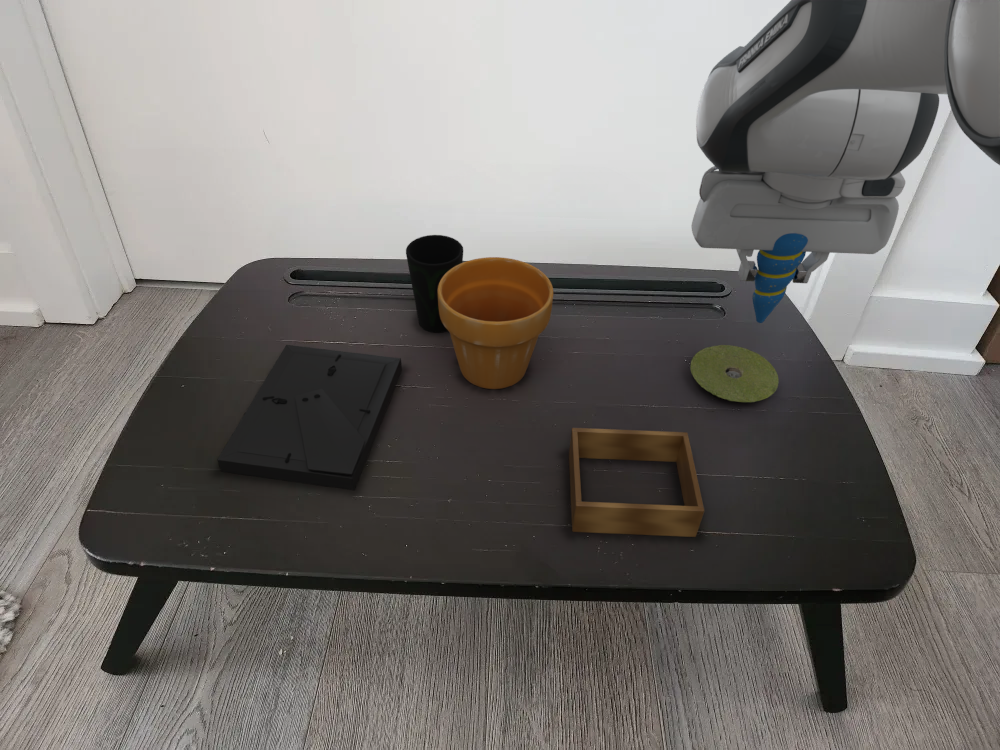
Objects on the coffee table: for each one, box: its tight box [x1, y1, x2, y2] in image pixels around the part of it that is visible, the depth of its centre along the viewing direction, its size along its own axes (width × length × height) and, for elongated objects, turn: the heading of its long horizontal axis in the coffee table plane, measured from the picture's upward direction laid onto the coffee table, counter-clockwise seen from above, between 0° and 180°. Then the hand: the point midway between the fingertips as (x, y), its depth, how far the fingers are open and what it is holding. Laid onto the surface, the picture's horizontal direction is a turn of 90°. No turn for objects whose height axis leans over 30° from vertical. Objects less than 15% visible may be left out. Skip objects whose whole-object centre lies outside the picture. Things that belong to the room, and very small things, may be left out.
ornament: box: [752, 233, 808, 324], centre depth 81 cm, size 5×5×15 cm
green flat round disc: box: [689, 344, 780, 403], centre depth 95 cm, size 11×11×2 cm
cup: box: [405, 234, 464, 334], centre depth 100 cm, size 8×8×12 cm
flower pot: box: [438, 256, 554, 390], centre depth 93 cm, size 14×14×13 cm
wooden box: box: [568, 427, 705, 538], centre depth 80 cm, size 13×11×4 cm
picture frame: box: [217, 344, 403, 491], centre depth 88 cm, size 16×3×21 cm
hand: (772, 279), depth 82 cm, fingers closed on ornament, 4 cm apart
